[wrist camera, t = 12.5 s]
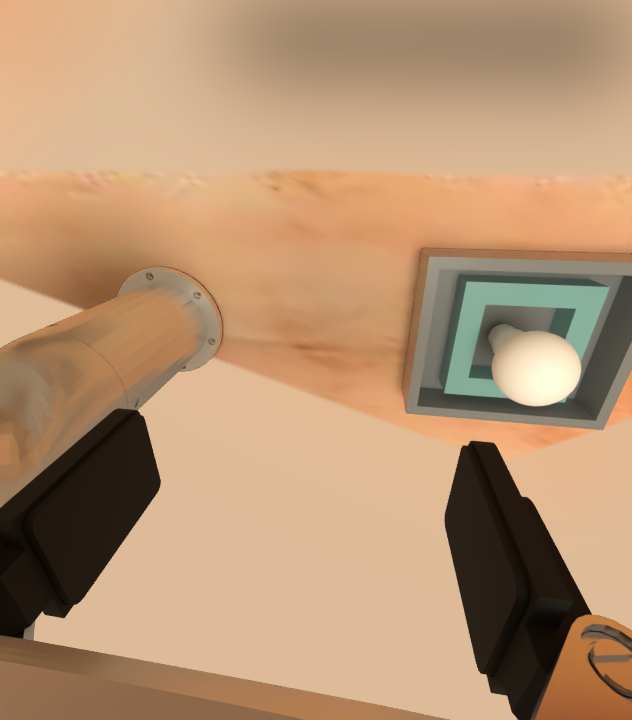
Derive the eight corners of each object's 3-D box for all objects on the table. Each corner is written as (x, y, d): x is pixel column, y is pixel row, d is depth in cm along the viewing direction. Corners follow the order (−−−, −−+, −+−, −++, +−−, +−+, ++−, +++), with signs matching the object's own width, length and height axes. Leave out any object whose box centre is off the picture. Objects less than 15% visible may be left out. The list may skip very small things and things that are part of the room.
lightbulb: (525, 294, 33) (594, 337, 23) (536, 348, 35) (604, 408, 25) (460, 316, 35) (499, 365, 25) (474, 367, 37) (516, 430, 27)
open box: (636, 253, 31) (681, 264, 27) (575, 402, 38) (603, 430, 34) (421, 247, 33) (429, 256, 29) (401, 388, 41) (405, 413, 36)
